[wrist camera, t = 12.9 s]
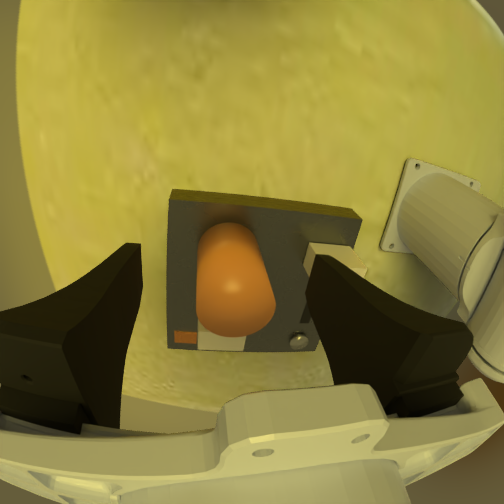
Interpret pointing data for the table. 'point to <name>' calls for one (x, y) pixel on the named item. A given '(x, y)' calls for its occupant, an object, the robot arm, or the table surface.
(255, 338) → the breaker panel
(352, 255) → the block
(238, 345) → the block
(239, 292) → the cap
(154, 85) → the table surface
